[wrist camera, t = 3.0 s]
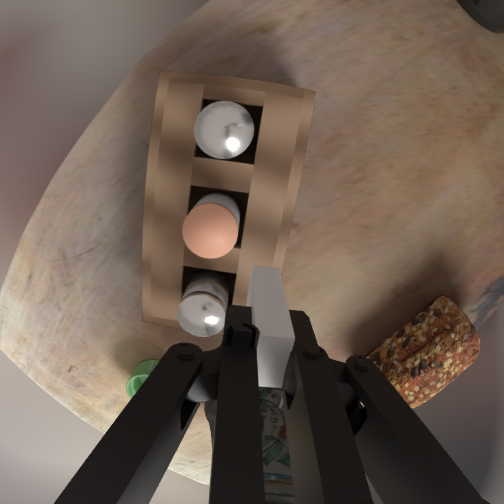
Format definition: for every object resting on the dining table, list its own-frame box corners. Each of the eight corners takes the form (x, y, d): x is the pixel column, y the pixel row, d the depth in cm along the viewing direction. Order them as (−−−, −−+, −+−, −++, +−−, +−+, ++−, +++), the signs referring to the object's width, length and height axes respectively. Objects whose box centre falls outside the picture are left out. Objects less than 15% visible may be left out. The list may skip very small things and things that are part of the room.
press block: (177, 83, 30) (160, 71, 23) (302, 99, 30) (315, 91, 24) (158, 292, 39) (142, 321, 32) (263, 307, 40) (266, 340, 33)
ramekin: (196, 372, 44) (192, 392, 40) (174, 401, 47) (170, 420, 43) (143, 346, 42) (135, 365, 38) (127, 379, 45) (119, 397, 41)
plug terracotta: (198, 187, 29) (184, 201, 23) (243, 193, 29) (241, 209, 23) (193, 230, 31) (180, 254, 25) (237, 236, 31) (233, 262, 25)
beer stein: (281, 347, 42) (300, 511, 19) (326, 415, 48) (352, 536, 25) (186, 383, 45) (158, 525, 22) (246, 441, 51) (246, 555, 28)
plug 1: (209, 106, 26) (198, 98, 20) (256, 112, 26) (258, 105, 20) (203, 151, 28) (190, 155, 22) (249, 157, 28) (248, 162, 22)
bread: (441, 287, 39) (477, 323, 30) (461, 325, 42) (490, 359, 33) (347, 363, 44) (364, 410, 35) (377, 391, 47) (395, 433, 37)
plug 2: (190, 262, 32) (177, 292, 26) (232, 268, 32) (228, 300, 26) (188, 298, 34) (176, 333, 27) (227, 304, 34) (222, 340, 28)
